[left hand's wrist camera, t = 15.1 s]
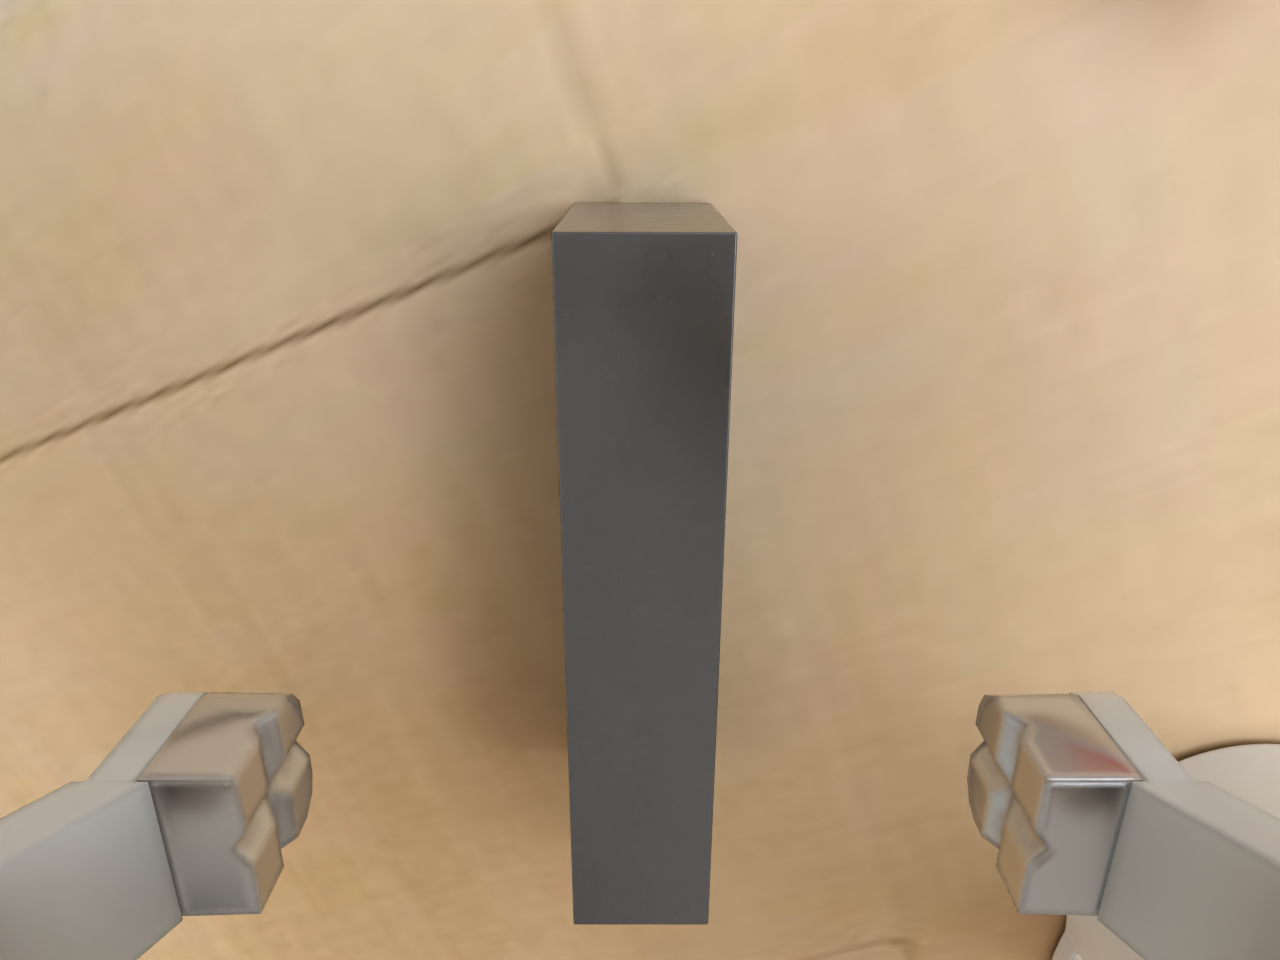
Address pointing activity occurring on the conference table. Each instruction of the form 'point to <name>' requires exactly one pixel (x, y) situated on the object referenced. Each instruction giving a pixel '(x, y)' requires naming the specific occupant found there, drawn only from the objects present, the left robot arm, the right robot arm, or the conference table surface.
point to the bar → (642, 545)
